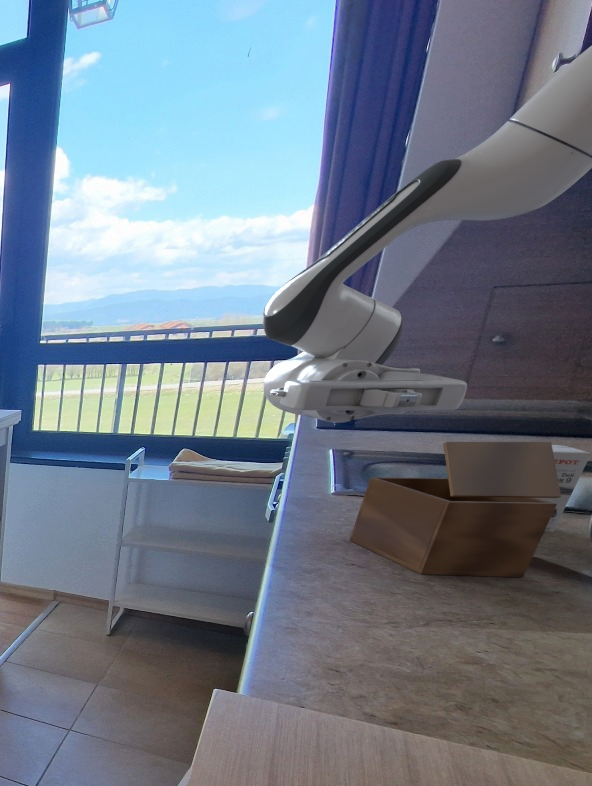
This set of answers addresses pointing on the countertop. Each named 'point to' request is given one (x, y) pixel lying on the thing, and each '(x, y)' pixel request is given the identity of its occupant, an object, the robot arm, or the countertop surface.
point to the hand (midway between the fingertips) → (408, 400)
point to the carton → (449, 528)
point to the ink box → (565, 478)
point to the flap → (501, 469)
